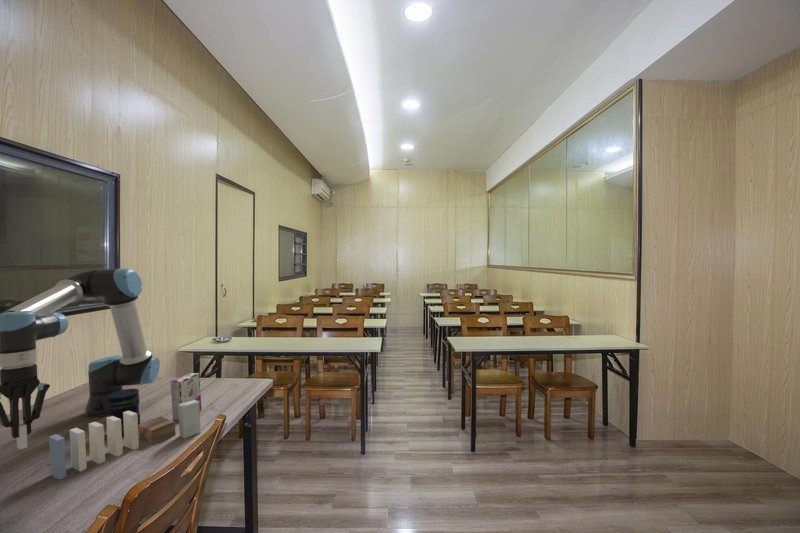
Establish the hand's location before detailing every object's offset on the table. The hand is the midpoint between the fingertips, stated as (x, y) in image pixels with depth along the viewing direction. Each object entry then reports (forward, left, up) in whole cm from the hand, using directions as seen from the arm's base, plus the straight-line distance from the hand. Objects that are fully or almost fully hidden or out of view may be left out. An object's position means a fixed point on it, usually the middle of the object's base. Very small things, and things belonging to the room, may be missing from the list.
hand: (22, 447), depth 108 cm
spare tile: (0, +8, -13) cm, 15 cm away
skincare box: (+10, +43, -13) cm, 46 cm away
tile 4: (0, +28, -13) cm, 30 cm away
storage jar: (-16, +33, -13) cm, 39 cm away
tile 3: (0, +23, -13) cm, 26 cm away
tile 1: (0, +13, -13) cm, 18 cm away
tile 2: (0, +18, -13) cm, 22 cm away
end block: (0, +36, -13) cm, 38 cm away
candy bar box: (-9, +53, -13) cm, 55 cm away
